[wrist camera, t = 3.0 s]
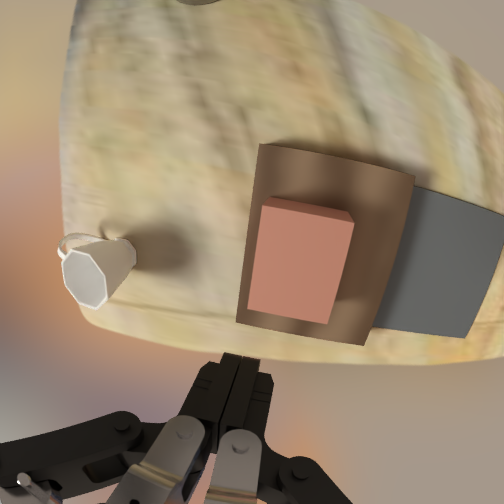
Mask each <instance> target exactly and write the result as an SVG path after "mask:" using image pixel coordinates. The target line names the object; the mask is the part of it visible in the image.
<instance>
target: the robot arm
mask: <svg viewBox="0 0 504 504" xmlns="http://www.w3.org/2000/svg"><path fill="white" fill-rule="evenodd" d="M177 1H178V2H180V3H184V4H189V5H202V4H207V3H211V2H214V1H217V0H177ZM259 366H260V359H254V358H250V357H245V356H243V357H242V356H240V355H235V354H230V353H226V352H224V354H223V356H222V359H221V361H220V363H215V362H210V361H209V362H208V363H207V364H205V365H204V366H203V367H202V368H201V369H200V371H199V373H198V375H197V377H196V379H195V381H194V383H193V386H192V387H191V389H190V391H189V393H188V395H187V397H186V400H185V402H184V404H183V406H182V408H181V410H180V412H179V413H178V415H177V416H176V417H173V418H171V419H170V420H169V421H168V422H165V423H145V422H140V420H139V418H138V417H137V416H136V415H134V414H133V413H130V412H127V411H117V412H114V413H111V414H108V415H105V416H102V417H99V418H96V419H93V420H90V421H87V422H83V423H80V424H77V425H74V426H70V427H66V428H63V429H59V430H56V431H52V432H48V433H45V434H40V435H37V436H32V437H28V438H24V439H19V440H15V441H10V442H5V443H0V500H1V503H2V504H63V499H67V498H71V497H75V496H78V495H82V494H85V493H88V492H92V491H95V490H98V489H101V488H104V487H107V486H110V485H113V484H116V483H119V484H118V485H117V487H116V488H115V490H114V491H113V493H112V494H111V496H110V497H109V499H108V500H107V502H106V503H99V504H188V503H189V501H190V499H191V497H192V494H193V492H194V490H195V488H196V486H197V484H198V482H199V480H200V478H201V476H202V474H203V471H204V469H205V465H206V463H207V460H208V457H209V455H210V453H214V454H217V457H216V461H215V465H214V469H213V474H212V478H211V482H210V487H209V489H208V491H207V494H206V497H205V500H204V504H257V498H258V499H260V500H262V501H264V502H266V503H267V504H353V503H352V502H351V501H350V500H349V499H348V498H347V497H346V496H345V495H344V494H343V492H342V491H341V490H340V489H339V488H338V487H337V486H336V485H335V483H334V482H333V481H332V480H331V479H330V478H329V476H328V475H327V474H326V473H325V472H324V471H323V469H322V468H321V467H320V466H319V465H318V464H317V463H316V462H315V461H314V460H312V459H310V458H307V457H303V456H296V457H292V458H287V457H284V456H282V455H280V454H278V453H276V452H274V451H273V450H271V449H270V448H269V446H268V445H267V443H266V442H265V438H264V432H265V428H266V423H267V417H268V413H269V408H270V402H271V397H272V392H273V387H274V382H273V380H272V377H271V374H267V373H262V372H258V371H259Z"/></svg>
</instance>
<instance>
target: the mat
mask: <svg viewBox="0 0 504 504" xmlns="http://www.w3.org/2000/svg"><path fill="white" fill-rule="evenodd" d="M503 244H504V216H502V215H500V214H497V213H495V212H492V211H489V210H487V209H484V208H481V207H478V206H476V205H473V204H470V203H467V202H464V201H461V200H458V199H455V198H452V197H449V196H446V195H443V194H439V193H436V192H433V191H430V190H426V189H423V188H419V187H416V186H413V191H412V195H411V200H410V204H409V208H408V213H407V217H406V221H405V225H404V229H403V232H402V236H401V240H400V243H399V247H398V250H397V254H396V257H395V260H394V264H393V267H392V270H391V273H390V276H389V280H388V283H387V286H386V289H385V292H384V294H383V297H382V300H381V303H380V306H379V308H378V311H377V314H376V317H375V319H374V322H373V324H372V326H373V327H379V328H386V329H393V330H400V331H407V332H415V333H423V334H431V335H439V336H448V337H457V338H465V337H466V335H467V333H468V331H469V329H470V327H471V325H472V323H473V321H474V319H475V317H476V315H477V312H478V310H479V308H480V306H481V303H482V301H483V299H484V296H485V294H486V292H487V289H488V287H489V284H490V281H491V279H492V276H493V273H494V271H495V268H496V265H497V262H498V259H499V256H500V253H501V250H502V247H503Z"/></svg>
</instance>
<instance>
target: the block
mask: <svg viewBox="0 0 504 504" xmlns="http://www.w3.org/2000/svg"><path fill="white" fill-rule="evenodd" d="M353 228H354V221H353V219H352V218H351V216H350V214H349V213H348V212H347V211H342V210H337V209H332V208H327V207H322V206H317V205H312V204H307V203H301V202H296V201H290V200H285V199H279V198H273V197H269V198H268V199H267V200H266V201H265V203H264V204H263V205H262V211H261V218H260V225H259V232H258V239H257V245H256V252H255V259H254V266H253V273H252V280H251V287H250V293H249V300H248V307H247V309H250V310H255V311H260V312H265V313H270V314H275V315H280V316H285V317H290V318H295V319H300V320H306V321H311V322H317V323H322V324H327V323H328V320H329V317H330V314H331V310H332V307H333V304H334V300H335V297H336V293H337V290H338V286H339V283H340V279H341V276H342V272H343V268H344V264H345V260H346V257H347V253H348V249H349V245H350V240H351V236H352V232H353Z"/></svg>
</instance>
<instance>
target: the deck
mask: <svg viewBox="0 0 504 504" xmlns="http://www.w3.org/2000/svg"><path fill="white" fill-rule="evenodd" d="M414 181H415V176H413V175H410V174H406V173H403V172H399V171H395V170H392V169H388V168H384V167H380V166H376V165H372V164H368V163H363V162H359V161H355V160H350V159H346V158H341V157H336V156H331V155H326V154H321V153H316V152H311V151H305V150H299V149H293V148H287V147H281V146H274V145H267V144H259V150H258V157H257V164H256V172H255V179H254V186H253V194H252V201H251V209H250V216H249V224H248V231H247V239H246V246H245V254H244V262H243V269H242V277H241V285H240V292H239V300H238V308H237V316H236V322H237V323H241V324H246V325H250V326H255V327H260V328H265V329H269V330H274V331H279V332H285V333H290V334H295V335H300V336H306V337H312V338H317V339H323V340H329V341H335V342H342V343H348V344H355V345H362V346H364V344H365V342H366V339H367V337H368V335H369V332H370V329H371V327H372V324H373V322H374V319H375V317H376V314H377V311H378V308H379V306H380V303H381V300H382V297H383V294H384V292H385V289H386V286H387V283H388V280H389V276H390V273H391V270H392V267H393V264H394V260H395V257H396V254H397V250H398V247H399V243H400V240H401V236H402V232H403V229H404V225H405V221H406V217H407V213H408V208H409V204H410V200H411V195H412V191H413V186H414ZM269 197H273V198H279V199H285V200H290V201H296V202H301V203H307V204H312V205H317V206H322V207H327V208H332V209H337V210H342V211H347V212H348V213H349V214H350V216H351V218H352V219H353V221H354V228H353V232H352V236H351V240H350V245H349V249H348V253H347V257H346V260H345V264H344V268H343V272H342V276H341V279H340V283H339V286H338V290H337V293H336V297H335V300H334V304H333V307H332V310H331V314H330V317H329V320H328V323H327V324H322V323H317V322H311V321H306V320H300V319H295V318H290V317H285V316H280V315H275V314H270V313H265V312H260V311H255V310H250V309H247V307H248V300H249V293H250V287H251V280H252V273H253V266H254V259H255V252H256V245H257V239H258V232H259V225H260V218H261V211H262V205H263V204H264V203H265V201H266V200H267V199H268V198H269Z"/></svg>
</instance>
